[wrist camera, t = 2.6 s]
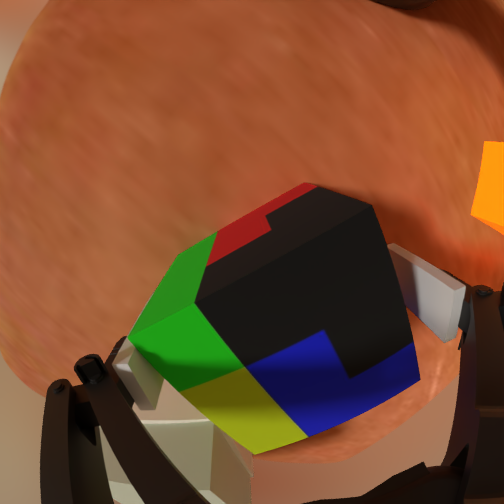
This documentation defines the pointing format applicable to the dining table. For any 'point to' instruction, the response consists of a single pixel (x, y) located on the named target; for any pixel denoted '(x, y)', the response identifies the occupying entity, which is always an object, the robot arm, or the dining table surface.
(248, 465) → the tower base
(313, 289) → the puzzle toy
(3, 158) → the dining table surface
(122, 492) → the tower top
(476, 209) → the orange juice
